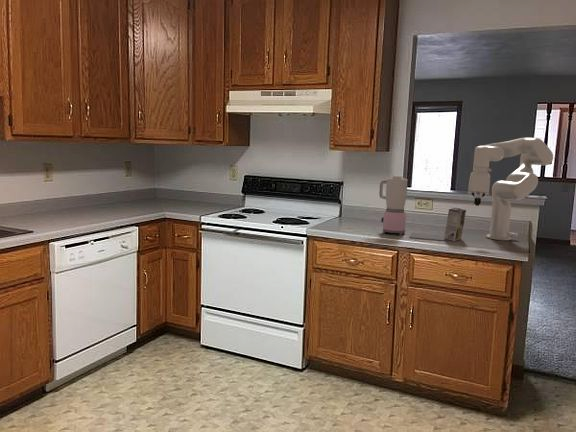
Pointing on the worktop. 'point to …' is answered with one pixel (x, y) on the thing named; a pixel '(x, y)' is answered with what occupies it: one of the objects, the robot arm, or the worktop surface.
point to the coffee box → (455, 224)
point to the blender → (394, 204)
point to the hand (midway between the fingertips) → (477, 205)
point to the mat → (427, 236)
